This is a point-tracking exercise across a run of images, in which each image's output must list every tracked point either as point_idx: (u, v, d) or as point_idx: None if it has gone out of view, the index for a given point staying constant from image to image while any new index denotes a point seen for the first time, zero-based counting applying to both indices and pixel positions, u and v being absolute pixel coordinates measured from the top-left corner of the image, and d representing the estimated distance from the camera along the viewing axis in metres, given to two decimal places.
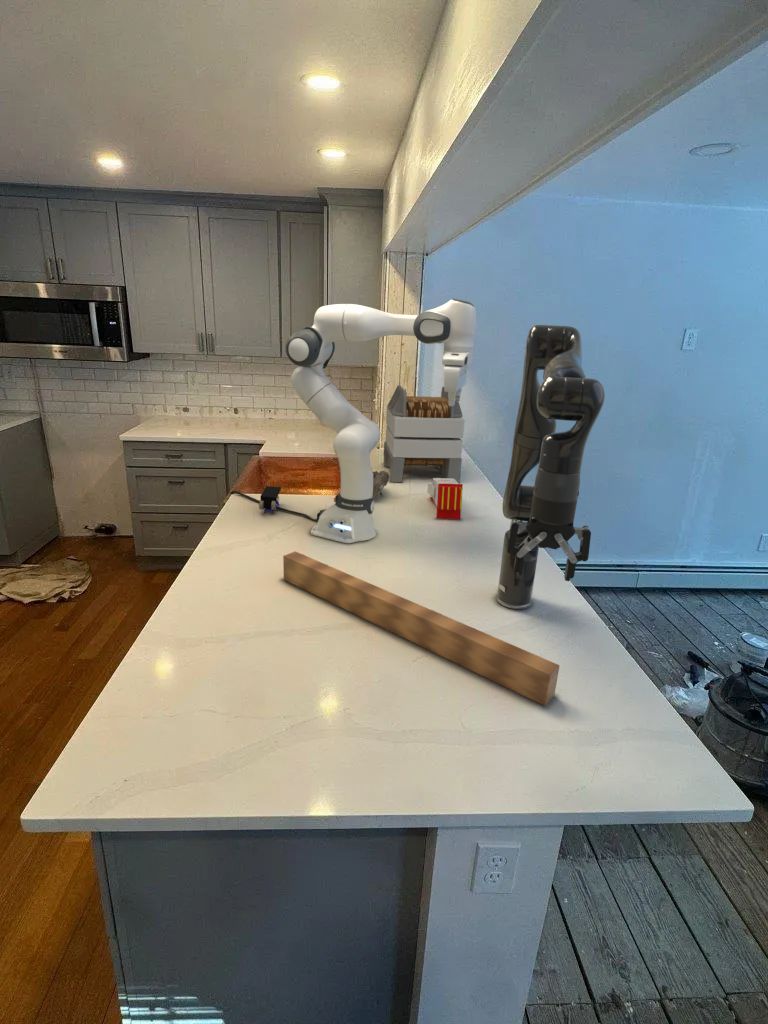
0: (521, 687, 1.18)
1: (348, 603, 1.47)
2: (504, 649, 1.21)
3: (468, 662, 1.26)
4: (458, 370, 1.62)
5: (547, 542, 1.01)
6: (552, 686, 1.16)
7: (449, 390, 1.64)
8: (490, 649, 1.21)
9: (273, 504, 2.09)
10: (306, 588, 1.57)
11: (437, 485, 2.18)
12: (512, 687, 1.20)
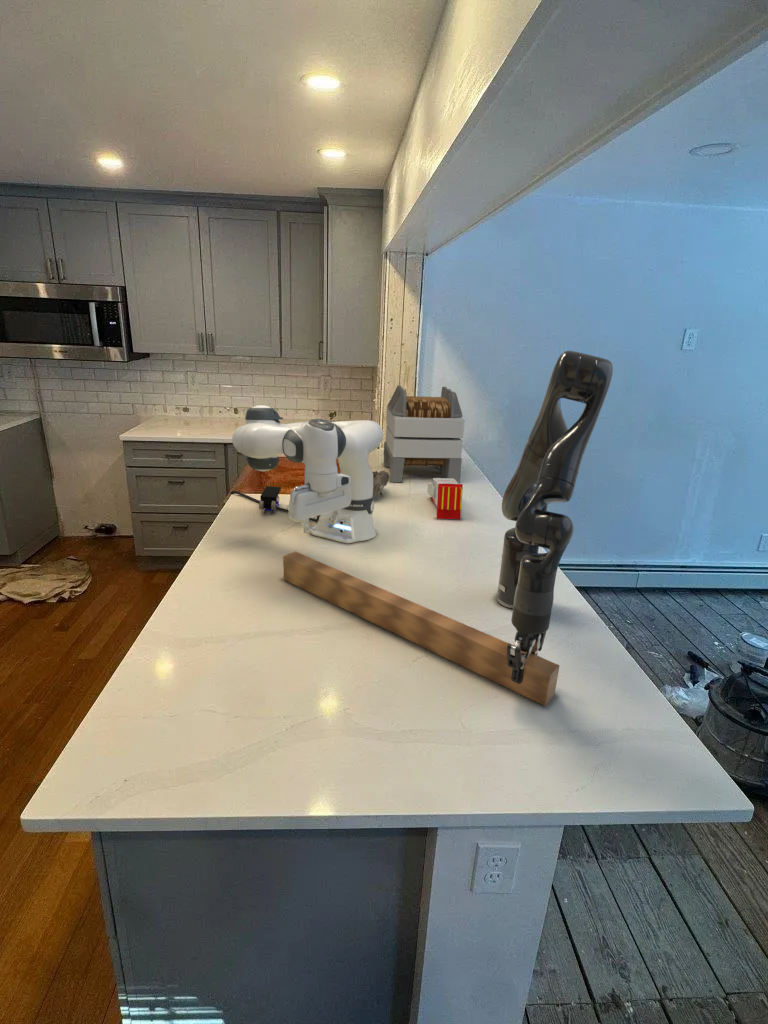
0: (521, 687, 1.18)
1: (348, 603, 1.47)
2: (504, 649, 1.21)
3: (468, 662, 1.26)
4: None
5: None
6: (552, 686, 1.16)
7: None
8: (490, 649, 1.21)
9: (273, 504, 2.09)
10: (306, 588, 1.57)
11: (437, 485, 2.18)
12: (512, 687, 1.20)
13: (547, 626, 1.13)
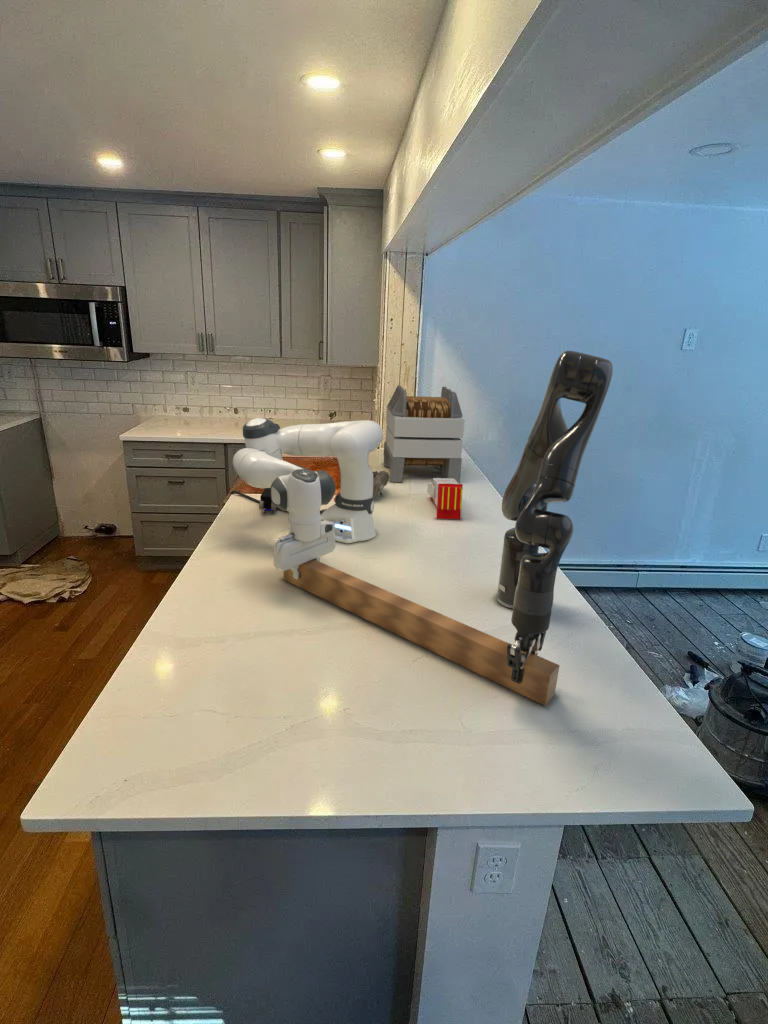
0: (521, 687, 1.18)
1: (348, 603, 1.47)
2: (504, 649, 1.21)
3: (468, 662, 1.26)
4: None
5: None
6: (552, 686, 1.16)
7: None
8: (490, 649, 1.21)
9: (273, 504, 2.09)
10: (306, 588, 1.57)
11: (437, 485, 2.18)
12: (512, 687, 1.20)
13: (547, 626, 1.13)
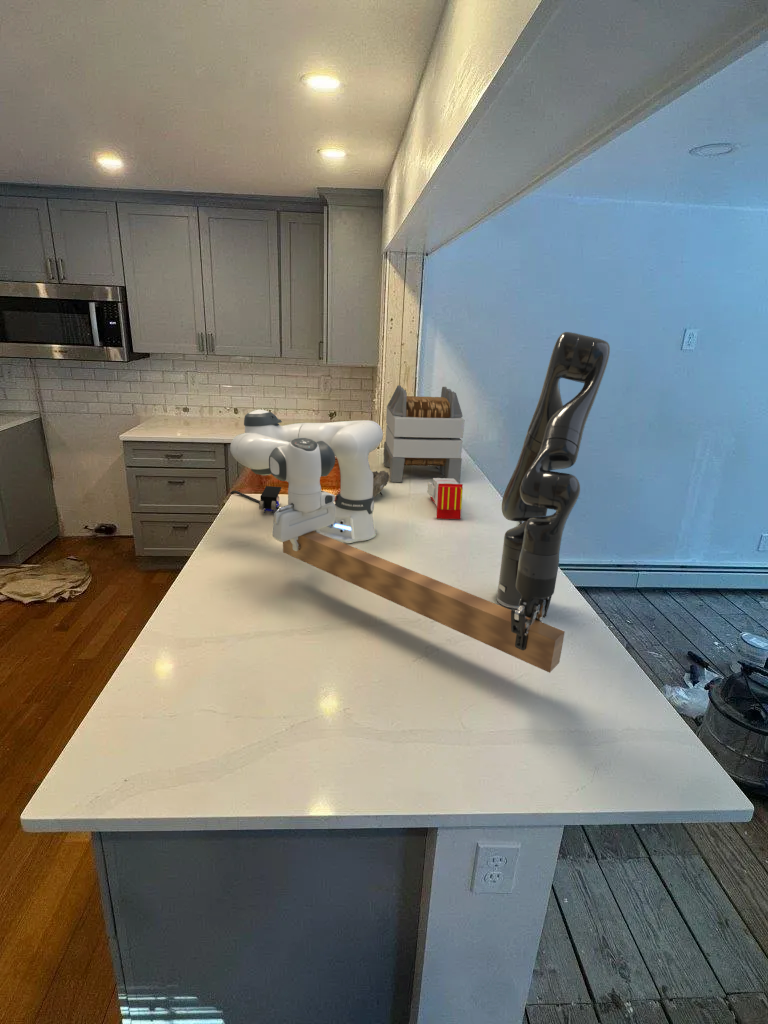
0: (525, 655, 1.16)
1: (348, 574, 1.45)
2: (508, 616, 1.18)
3: (471, 630, 1.23)
4: None
5: None
6: (557, 653, 1.13)
7: None
8: (493, 616, 1.18)
9: (273, 504, 2.09)
10: (306, 560, 1.55)
11: (437, 485, 2.18)
12: (516, 655, 1.17)
13: (552, 591, 1.10)
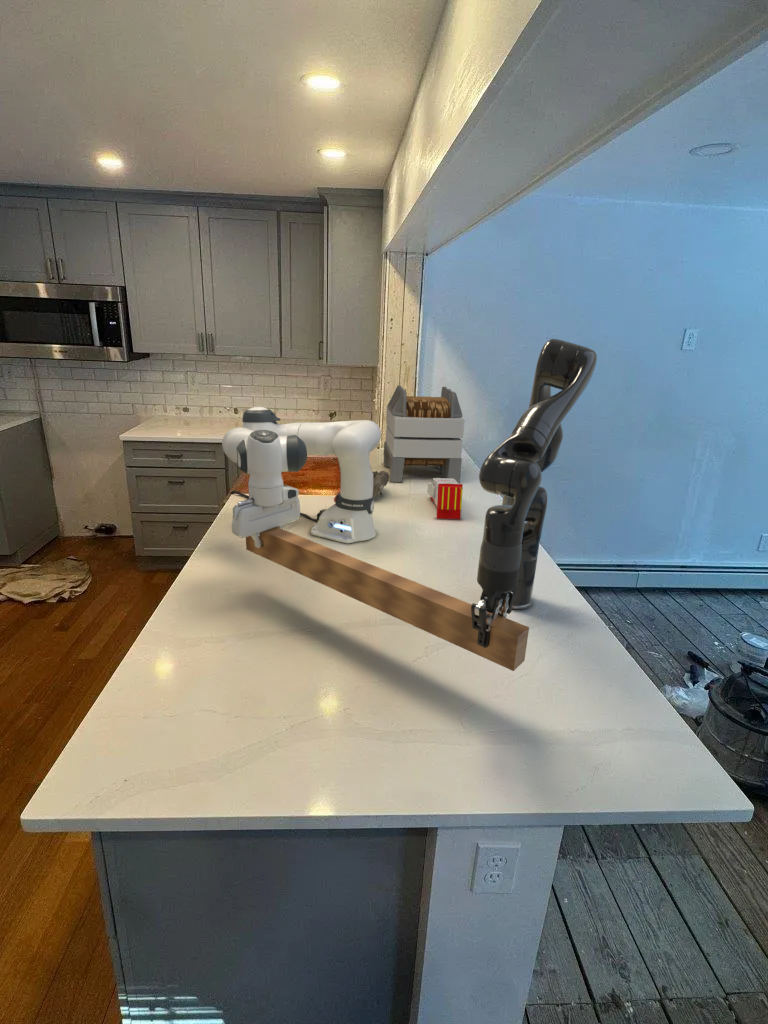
0: (488, 652, 1.09)
1: (310, 571, 1.39)
2: None
3: (434, 628, 1.17)
4: None
5: None
6: (521, 650, 1.07)
7: None
8: (455, 612, 1.12)
9: None
10: (269, 558, 1.48)
11: (437, 485, 2.18)
12: (479, 653, 1.11)
13: (515, 584, 1.04)
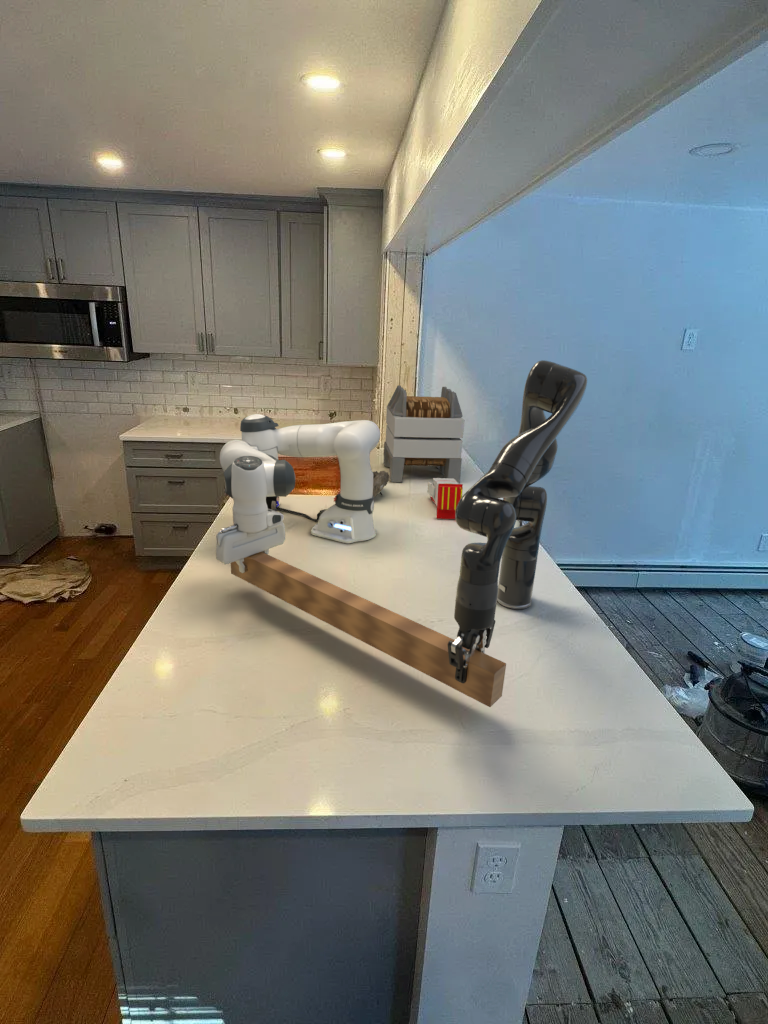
0: (466, 687, 1.10)
1: (293, 598, 1.39)
2: None
3: (413, 660, 1.17)
4: None
5: None
6: (498, 686, 1.07)
7: None
8: (434, 646, 1.12)
9: (273, 504, 2.09)
10: (253, 582, 1.49)
11: (437, 485, 2.18)
12: (456, 687, 1.11)
13: (491, 621, 1.05)
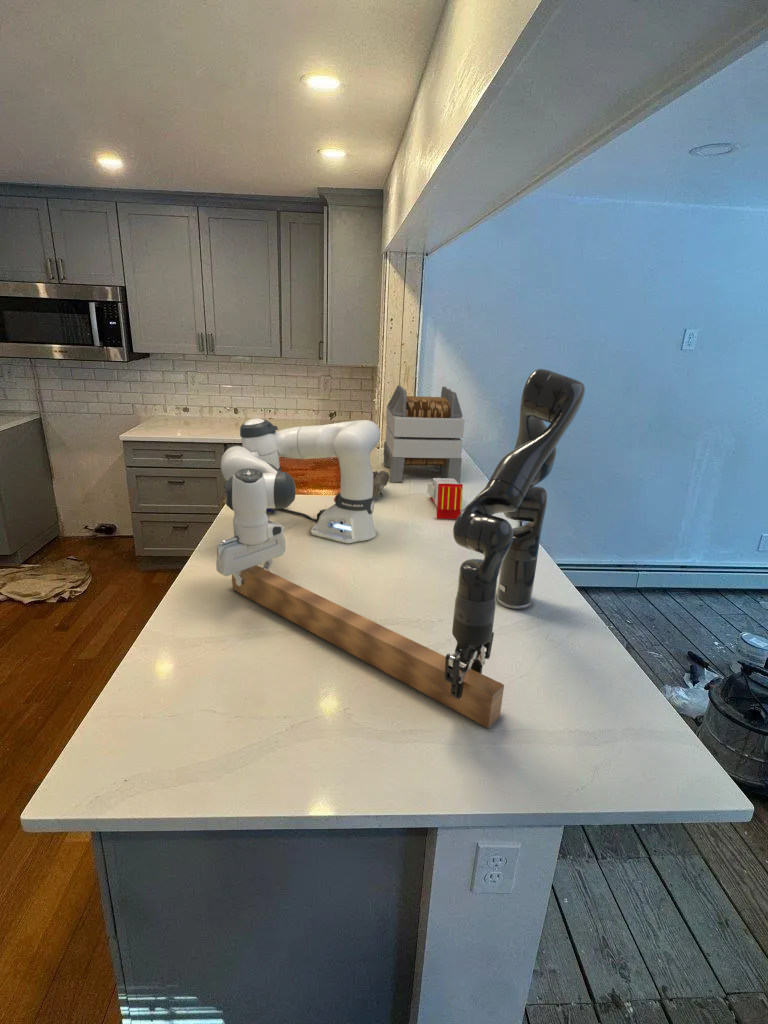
0: (464, 708, 1.11)
1: (294, 615, 1.40)
2: None
3: (412, 680, 1.19)
4: None
5: None
6: (496, 707, 1.09)
7: None
8: (433, 667, 1.14)
9: None
10: (254, 599, 1.50)
11: (437, 485, 2.18)
12: (455, 708, 1.13)
13: (489, 637, 1.05)
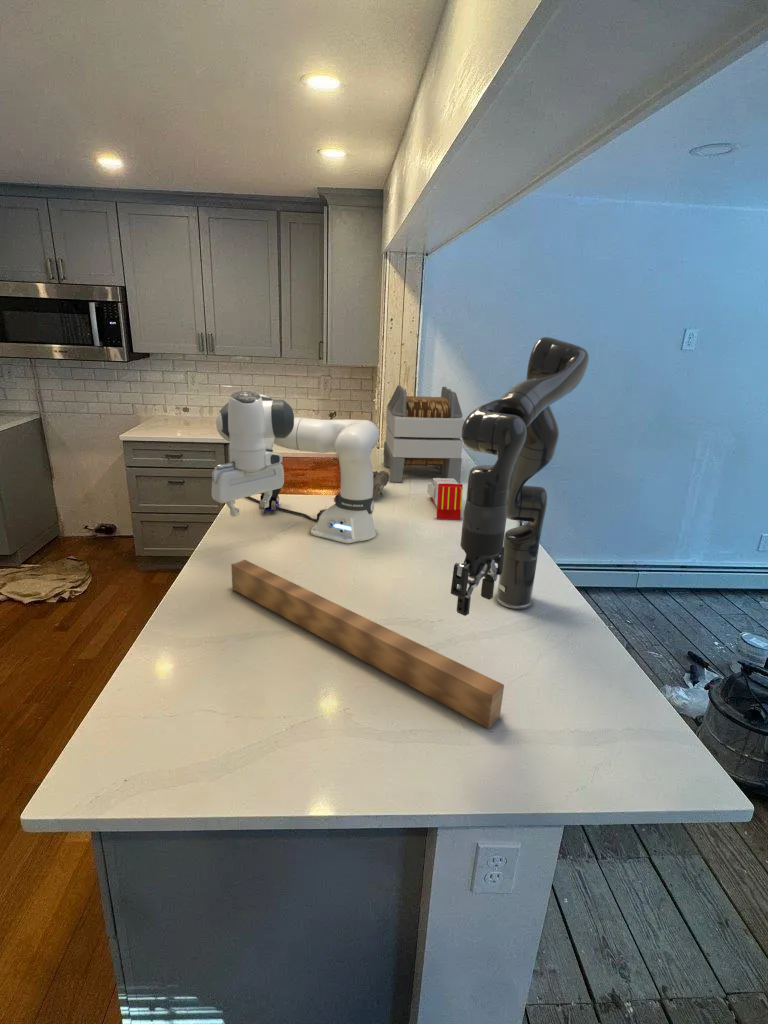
0: (464, 708, 1.11)
1: (294, 615, 1.40)
2: (447, 666, 1.14)
3: (412, 680, 1.19)
4: None
5: None
6: (496, 707, 1.09)
7: None
8: (433, 667, 1.14)
9: (273, 504, 2.09)
10: (254, 599, 1.50)
11: (437, 485, 2.18)
12: (455, 708, 1.13)
13: (499, 548, 0.99)
